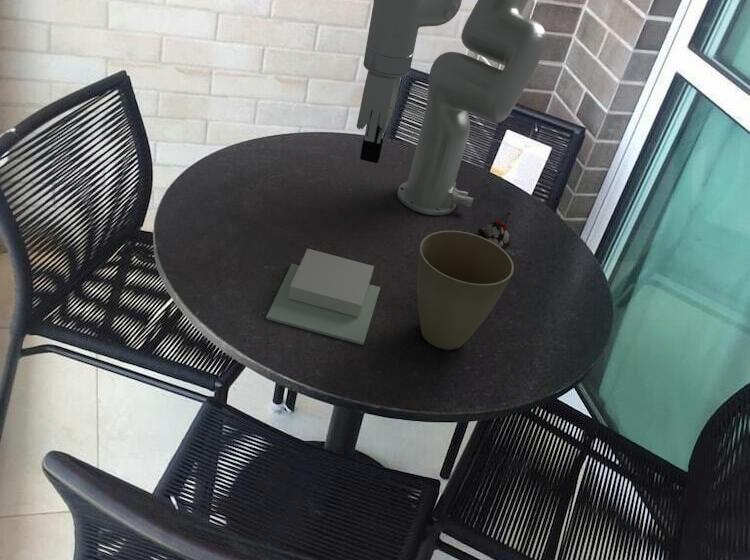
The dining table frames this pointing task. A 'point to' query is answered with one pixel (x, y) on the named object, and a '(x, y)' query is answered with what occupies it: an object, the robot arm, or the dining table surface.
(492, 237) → the sundae
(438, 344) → the plant pot
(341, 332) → the mat
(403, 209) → the dining table surface
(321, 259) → the tile
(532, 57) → the robot arm
